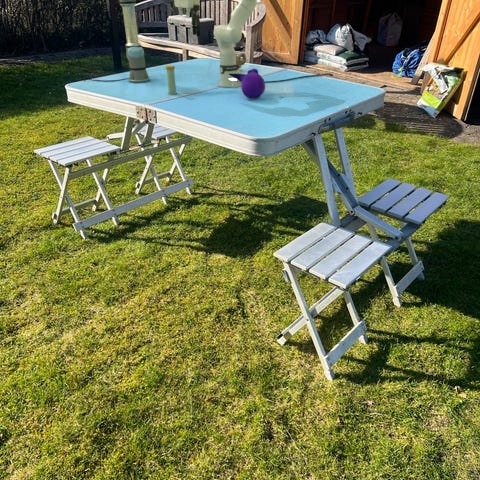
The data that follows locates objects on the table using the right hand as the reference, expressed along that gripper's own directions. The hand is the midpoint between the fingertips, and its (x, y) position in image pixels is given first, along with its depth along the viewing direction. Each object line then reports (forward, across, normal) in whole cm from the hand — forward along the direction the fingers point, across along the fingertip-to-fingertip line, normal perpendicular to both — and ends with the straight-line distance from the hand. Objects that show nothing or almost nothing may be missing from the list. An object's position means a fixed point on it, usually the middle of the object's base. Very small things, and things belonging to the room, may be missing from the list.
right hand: (184, 15), depth 282 cm
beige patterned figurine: (+46, +48, -64) cm, 93 cm away
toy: (+46, -37, -24) cm, 64 cm away
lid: (+29, +1, +12) cm, 32 cm away
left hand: (+18, +57, -36) cm, 69 cm away
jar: (+46, +1, +12) cm, 48 cm away
